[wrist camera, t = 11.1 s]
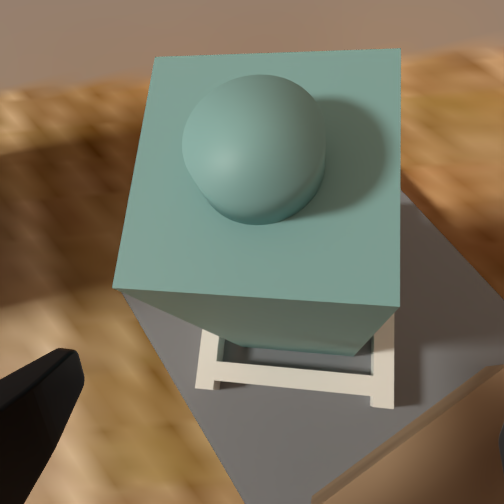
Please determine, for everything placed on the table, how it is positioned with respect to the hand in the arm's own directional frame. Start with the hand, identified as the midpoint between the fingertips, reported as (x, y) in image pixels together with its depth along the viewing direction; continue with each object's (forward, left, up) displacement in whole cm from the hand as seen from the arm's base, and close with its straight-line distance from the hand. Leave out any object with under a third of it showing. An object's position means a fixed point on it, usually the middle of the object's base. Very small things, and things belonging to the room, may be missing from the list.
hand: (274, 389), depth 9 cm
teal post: (+3, -2, -11) cm, 11 cm away
